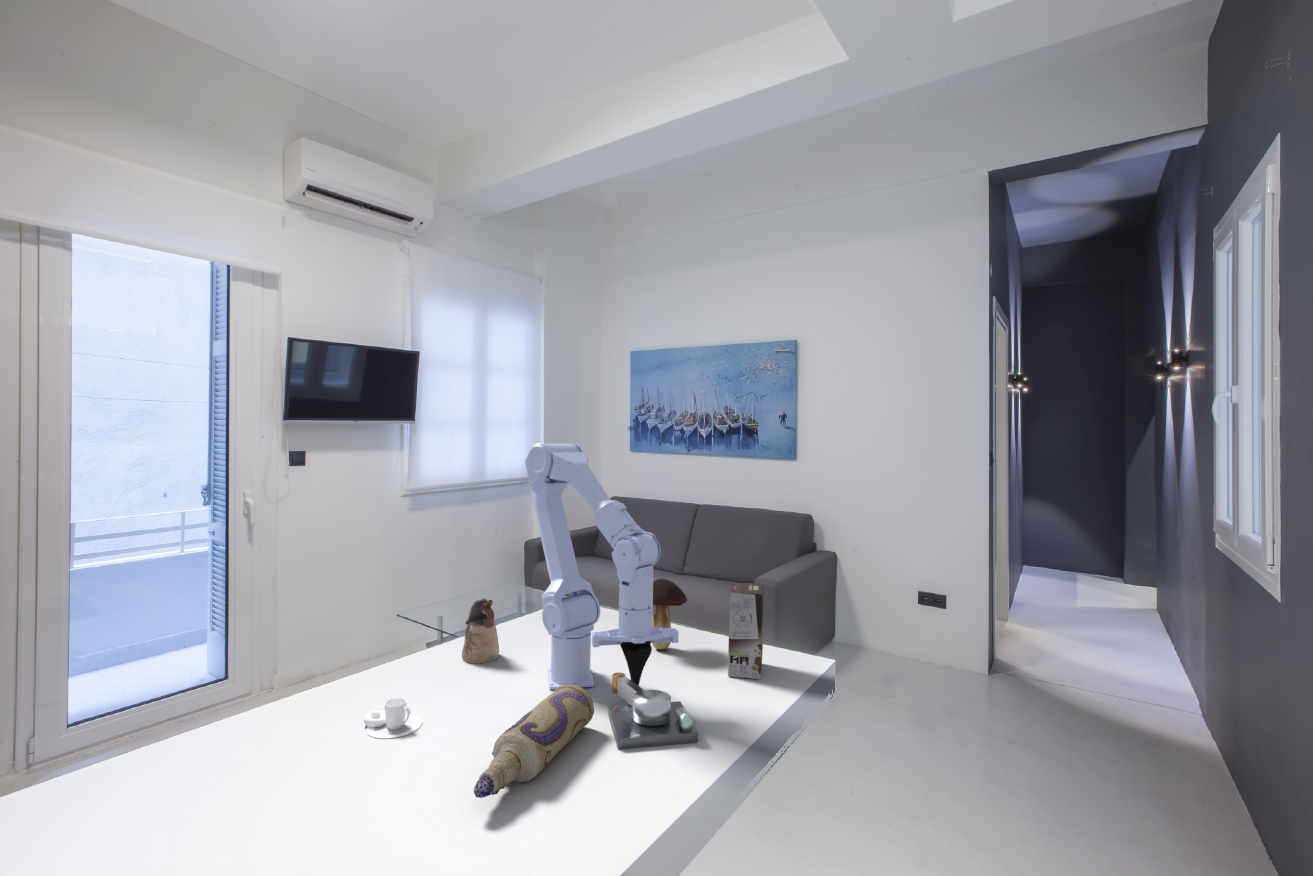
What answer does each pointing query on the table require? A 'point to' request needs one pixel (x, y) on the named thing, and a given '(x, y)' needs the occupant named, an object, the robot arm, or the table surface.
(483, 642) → the figurine
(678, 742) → the plate
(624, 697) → the silver pan
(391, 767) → the table surface
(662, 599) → the decorative mushroom
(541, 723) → the decorative bottle
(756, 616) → the coffee box
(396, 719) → the teacup and saucer
